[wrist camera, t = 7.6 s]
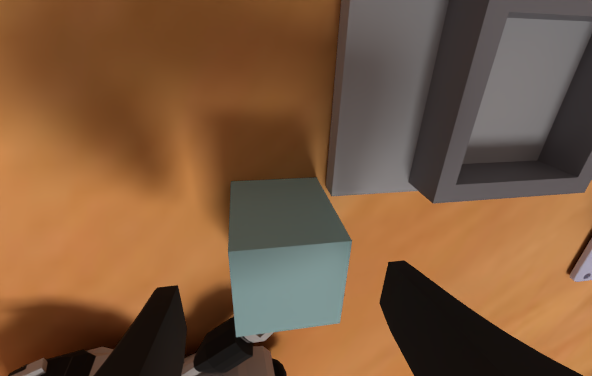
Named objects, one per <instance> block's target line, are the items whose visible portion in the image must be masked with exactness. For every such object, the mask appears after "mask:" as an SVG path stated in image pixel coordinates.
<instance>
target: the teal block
mask: <svg viewBox="0 0 592 376" xmlns="http://www.w3.org/2000/svg"><path fill="white" fill-rule="evenodd" d="M351 244H352V240H351V238H350V237H349V235H348V233H347V231H346V229H345V228H344V226H343V224H342V222H341V220H340V219H339V217H338V215H337V213H336V212H335V210H334V208H333V206H332V204H331V203H330V201H329V199H328V197H327V195H326V194H325V192H324V190H323V188H322V186H321V185H320V183H319V181H318V179H317V178H316V177H313V178H292V179H271V180H250V181H231V191H230V217H229V243H228V256H229V266H230V277H231V288H232V299H233V310H234V320H235V331H236V337H242V336H249V335H256V334H264V333H271V332H278V331H286V330H293V329H300V328H308V327H315V326H322V325H329V324H337V323H340V318H341V312H342V305H343V298H344V291H345V285H346V278H347V271H348V264H349V258H350V251H351Z"/></svg>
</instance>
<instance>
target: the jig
mask: <svg viewBox="0 0 592 376" xmlns="http://www.w3.org/2000/svg"><path fill="white" fill-rule="evenodd" d="M591 180H592V0H341V9H340V21H339V34H338V46H337V58H336V70H335V82H334V94H333V106H332V118H331V130H330V142H329V154H328V166H327V178H326V188H327V189H328V191H329V193H330V194H331V196H343V195H359V194H375V193H391V192H407V191H419V192H420V193H422V194H423V195H424V196H425V197H426V198H427V199H429V200H430V201H431V202H432V203H445V202H459V201H473V200H487V199H501V198H515V197H529V196H543V195H557V194H570V193H584V192H585V190H586V188H587V187H588V185H589V183H590V181H591Z"/></svg>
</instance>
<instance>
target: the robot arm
mask: <svg viewBox="0 0 592 376" xmlns="http://www.w3.org/2000/svg"><path fill="white" fill-rule="evenodd" d="M570 278H571V279H572V280H574V281H575V282H579V281H587V280H592V238H591V240H590V242H589V243H588V245H587V247H586V248H585V250H584V252H583V253H582V255H581V257H580V258H579V260H578V262H577V263H576V265H575V267H574V268H573V270H572V272H571V273H570ZM380 306H381V308H382V311H383V314H384V316H385V319H386V321H387V324H388V326H389V329H390V331H391V333H392V335H393V337H394V339H395V341H396V342H397V344H398V346H399V348H400V350H401V352H402V354H403V356H404V358H405V359H406V361H407V363H408V365H409V367H410V369H411V371H412V372H413V374H414V376H583V375H581V374H579V373H577V372H575V371H573V370H571V369H569V368H567V367H566V366H564V365H562V364H560V363H558V362H556V361H554V360H552V359H551V358H549V357H547V356H545V355H543V354H542V353H540V352H538V351H536V350H535V349H533V348H531V347H530V346H528V345H526V344H524V343H523V342H521V341H519V340H518V339H516V338H514V337H513V336H511V335H509V334H508V333H506V332H505V331H503V330H501V329H500V328H498V327H497V326H495V325H494V324H492V323H491V322H489V321H488V320H486V319H485V318H483V317H482V316H480V315H479V314H477V313H476V312H474V311H473V310H471V309H470V308H468V307H467V306H466V305H464V304H463V303H461V302H460V301H459V300H457V299H456V298H454V297H453V296H452V295H450V294H449V293H448V292H446V291H445V290H444V289H442V288H441V287H439V286H438V285H437V284H435V283H434V282H433V281H431V280H430V279H429V278H427V277H426V276H425V275H423V274H422V273H421V272H419V271H418V270H417V269H415V268H414V267H413V266H411V265H410V264H408V263H407V262H406V261H395V262H388V267H387V271H386V276H385V280H384V285H383V289H382V294H381V298H380ZM186 335H187V326H186V322H185V317H184V312H183V307H182V303H181V298H180V293H179V289H178V285H177V286H168V287H159V288H157V289H156V290H155V291H154V292H153V294H152V295H151V297H150V298H149V300H148V301H147V303H146V304H145V306H144V307H143V309H142V310H141V312H140V313H139V315H138V316H137V318H136V319H135V321H134V322H133V323H132V325H131V326H130V328H129V329H128V331H127V332H126V333H125V335H124V336H123V337H122V339H121V340H120V341H119V343H118V344H117V346H116V347H115V348H114V350H113V351H112V352H111V354H110V355H109V356H108V358H107V359H106V360H105V362H104V363H103V364H102V365H101V367H100V368H99V369H98V370H97V372H96V373H95V374H94V375H93V376H181V373H182V368H183V363H184V355H185V345H186Z"/></svg>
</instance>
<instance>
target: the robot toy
mask: <svg viewBox="0 0 592 376" xmlns="http://www.w3.org/2000/svg"><path fill="white" fill-rule="evenodd" d="M273 333H274V332H271V333H264V334H256V335H249V336H242V337H236V331H235V320H234V317H232V318H231V319H229V320H228V321H226V322H225V323H223V324H221V325H220V326H218V327H217V328H215V329H213V330H212V331H210V332H209V333H207V335H206V336H205V338H204V340H203V342H202V343H201V345H200V347H199V349H198V351H197V353H195V354H192V355H190V356H188V357H186V358H184V363H183V368H182V373H181V376H286V371H285V369H284V367H283V365H282V364H281V363H280V362H279V361H278V360H275V359H272V358H271V352H270V351H269V350H267V349H266V348H265V347H263V346H253V343H255V342H261V341H265V340H266V339H268V338H269V337H270V336H271V335H272V334H273ZM113 350H114V349H110V348H106V347H99V348H95V349H91V350H87V351H85V350H80V351H76V352H73V353H69V354H65V355H61V356H57V357H54V358H50V359H46V360H45V358H42V359H40V360H37V361H35V362H33V363H30V364H27V365H24V366H23V367H21V368H19V369H17V370H15V371H13V372H12V373H10V374H9V375H8V376H93V375H94V374H95V373H96V372H97V370H98V369H99V368H100V367H101V365H102V364H103V363H104V362H105V360H106V359H107V358H108V356H109V355H110V354H111V352H112V351H113Z"/></svg>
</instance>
